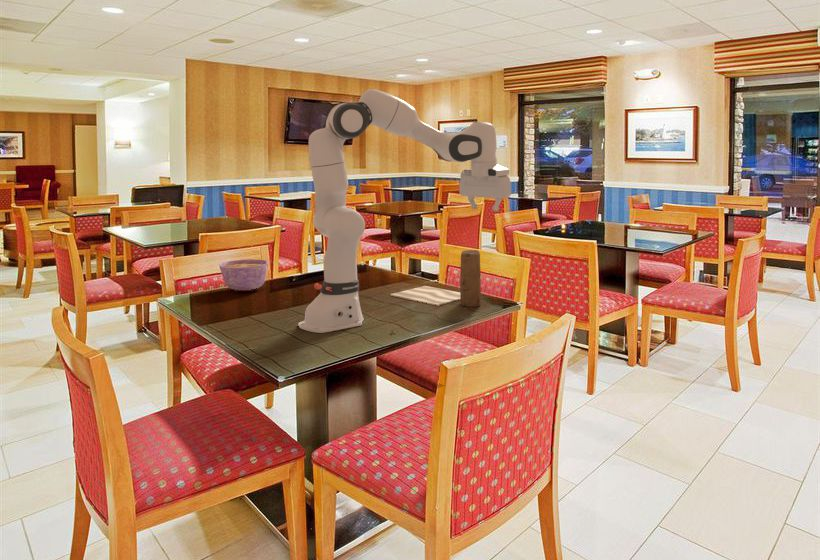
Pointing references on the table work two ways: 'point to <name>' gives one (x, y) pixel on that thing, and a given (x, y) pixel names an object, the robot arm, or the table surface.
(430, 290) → the board
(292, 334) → the table surface
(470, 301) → the block
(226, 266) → the bowl of food
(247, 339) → the table surface
